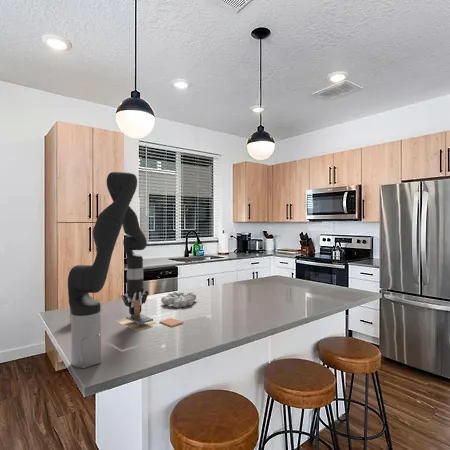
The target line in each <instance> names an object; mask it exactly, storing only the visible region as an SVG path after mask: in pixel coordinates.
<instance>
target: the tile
mask: <svg viewBox="0 0 450 450" xmlns="http://www.w3.org/2000/svg"><path fill="white" fill-rule="evenodd" d="M159 323H160V324H162V325H164V326H167V327H170V328H173V327H177V326H180V325H183V324H184V321H183V320H182V321H181V320H179V319H175V318H173V317H170V318H166V319H163V320H160V321H159Z"/></svg>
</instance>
